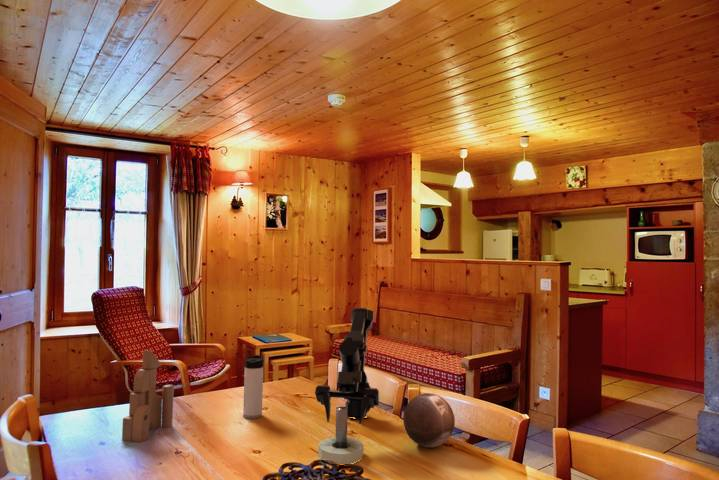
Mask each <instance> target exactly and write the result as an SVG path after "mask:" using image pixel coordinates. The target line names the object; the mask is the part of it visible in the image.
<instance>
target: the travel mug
mask: <svg viewBox="0 0 719 480" xmlns="http://www.w3.org/2000/svg"><path fill="white" fill-rule="evenodd" d="M244 359H245V360H244V377H243V378H244V381H243V382H244V384H243V412H242V413H243V414H242V417H243V418H245V419H247V420H255V419H259V418H261V417H262V416H263V393H264V357H263V356H260V355H259V354H254V355H251V356H247V357H245V358H244Z"/></svg>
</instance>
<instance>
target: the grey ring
mask: <svg viewBox="0 0 719 480" xmlns="http://www.w3.org/2000/svg"><path fill="white" fill-rule="evenodd" d="M335 440H336V436H334V437H327V438H326V439H323V440H321V441H320V443H319V444H318V458H319V459H320V458H321V459H329V460H333V461H335V462H336V463H338V464H351V463H354V462H356V461H358V460H360V459H361V458H362V456H363V457H364V447H365V446H364V445H365V444H363V442H362V441H361V440H359V439H356V438H353V437H349V436H347V448H345V449H338V448H335ZM362 459H363V458H362Z"/></svg>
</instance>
